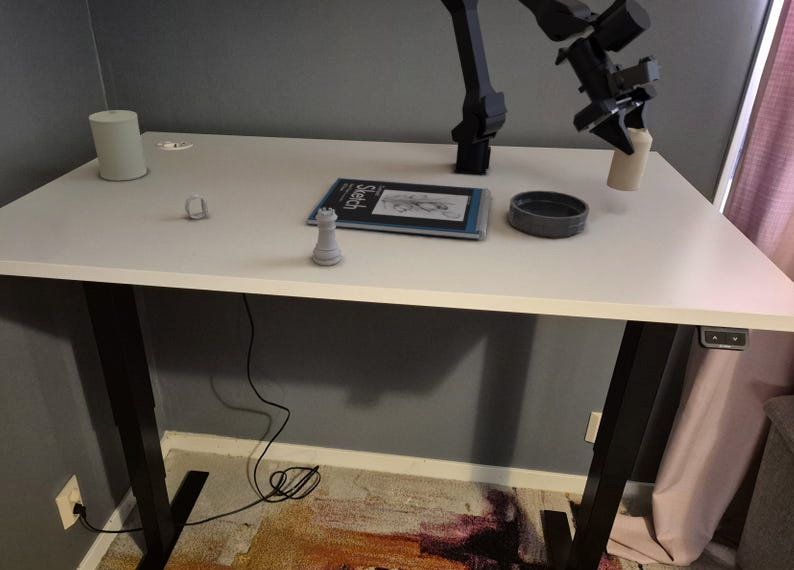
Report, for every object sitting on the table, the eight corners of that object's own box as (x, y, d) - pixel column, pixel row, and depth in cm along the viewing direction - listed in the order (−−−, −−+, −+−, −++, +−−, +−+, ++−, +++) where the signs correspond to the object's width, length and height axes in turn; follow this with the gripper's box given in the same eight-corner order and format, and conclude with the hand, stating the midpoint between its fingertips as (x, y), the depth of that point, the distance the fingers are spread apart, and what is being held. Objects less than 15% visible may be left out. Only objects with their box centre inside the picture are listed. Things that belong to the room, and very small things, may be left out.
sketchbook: (338, 184, 127) (338, 174, 126) (490, 197, 121) (491, 186, 120) (307, 225, 109) (307, 213, 108) (484, 242, 104) (486, 230, 103)
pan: (508, 235, 106) (511, 214, 104) (507, 207, 117) (510, 188, 115) (588, 241, 104) (593, 221, 102) (580, 212, 115) (584, 193, 113)
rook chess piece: (312, 254, 100) (310, 205, 95) (340, 253, 100) (340, 204, 96) (313, 267, 96) (311, 216, 91) (342, 266, 96) (342, 216, 92)
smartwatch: (188, 221, 110) (185, 199, 108) (185, 217, 112) (182, 195, 110) (209, 218, 112) (206, 196, 109) (205, 213, 113) (202, 192, 111)
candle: (634, 181, 115) (649, 124, 109) (642, 192, 110) (659, 133, 104) (603, 180, 115) (616, 123, 109) (610, 190, 110) (625, 132, 105)
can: (146, 164, 136) (135, 106, 129) (148, 178, 129) (138, 117, 122) (100, 168, 133) (87, 109, 127) (100, 182, 126) (87, 120, 119)
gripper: (607, 44, 96) (658, 134, 96) (661, 33, 107) (707, 113, 107) (552, 90, 105) (598, 172, 105) (607, 75, 116) (648, 149, 116)
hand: (640, 150), depth 108 cm, fingers closed on candle, 5 cm apart
